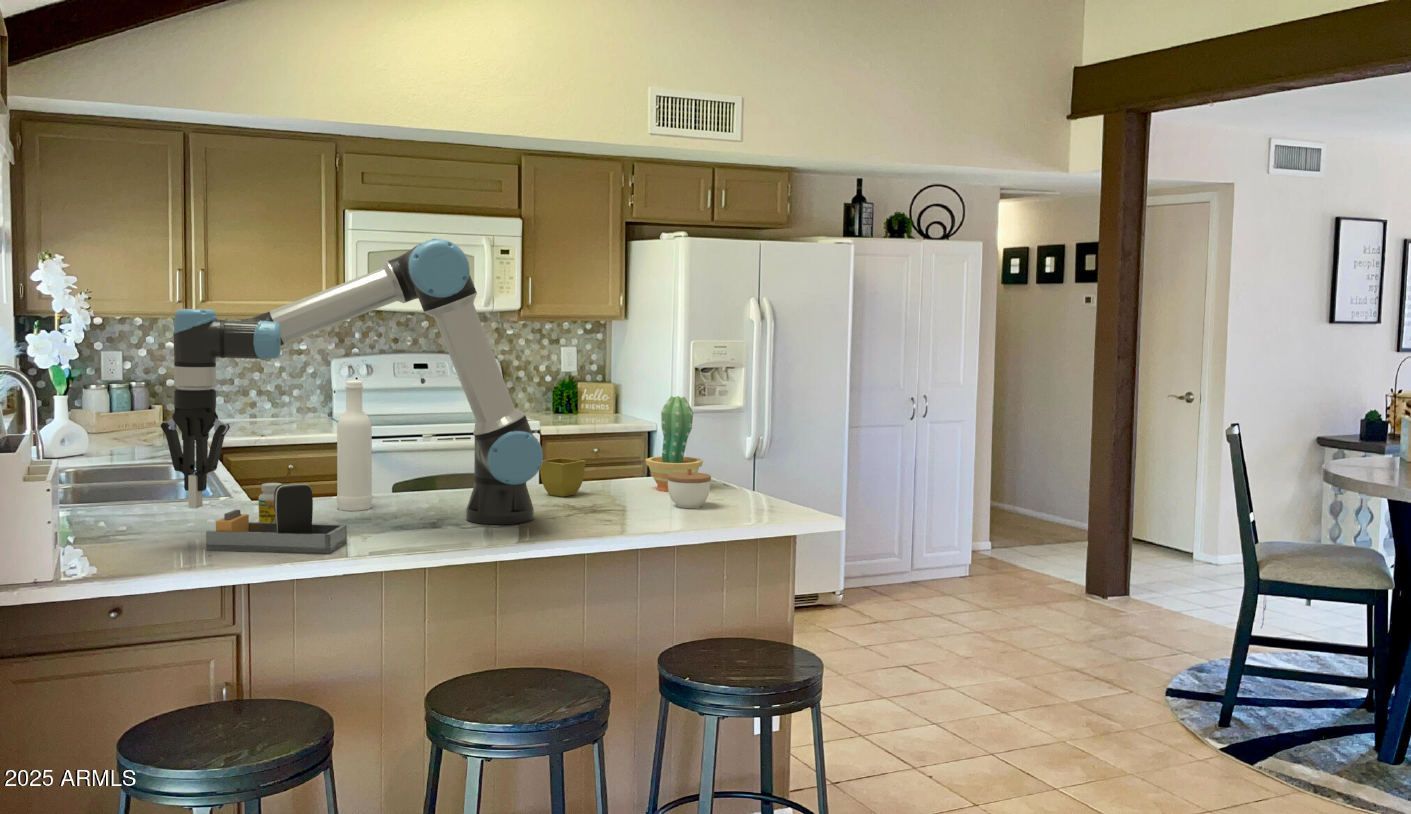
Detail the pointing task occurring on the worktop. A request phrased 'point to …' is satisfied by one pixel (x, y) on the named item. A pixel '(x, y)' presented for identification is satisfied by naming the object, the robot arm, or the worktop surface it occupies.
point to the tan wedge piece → (233, 522)
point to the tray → (278, 539)
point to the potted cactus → (673, 442)
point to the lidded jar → (688, 488)
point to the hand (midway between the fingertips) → (195, 507)
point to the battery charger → (293, 508)
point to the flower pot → (562, 476)
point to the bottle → (354, 453)
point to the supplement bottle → (267, 503)
